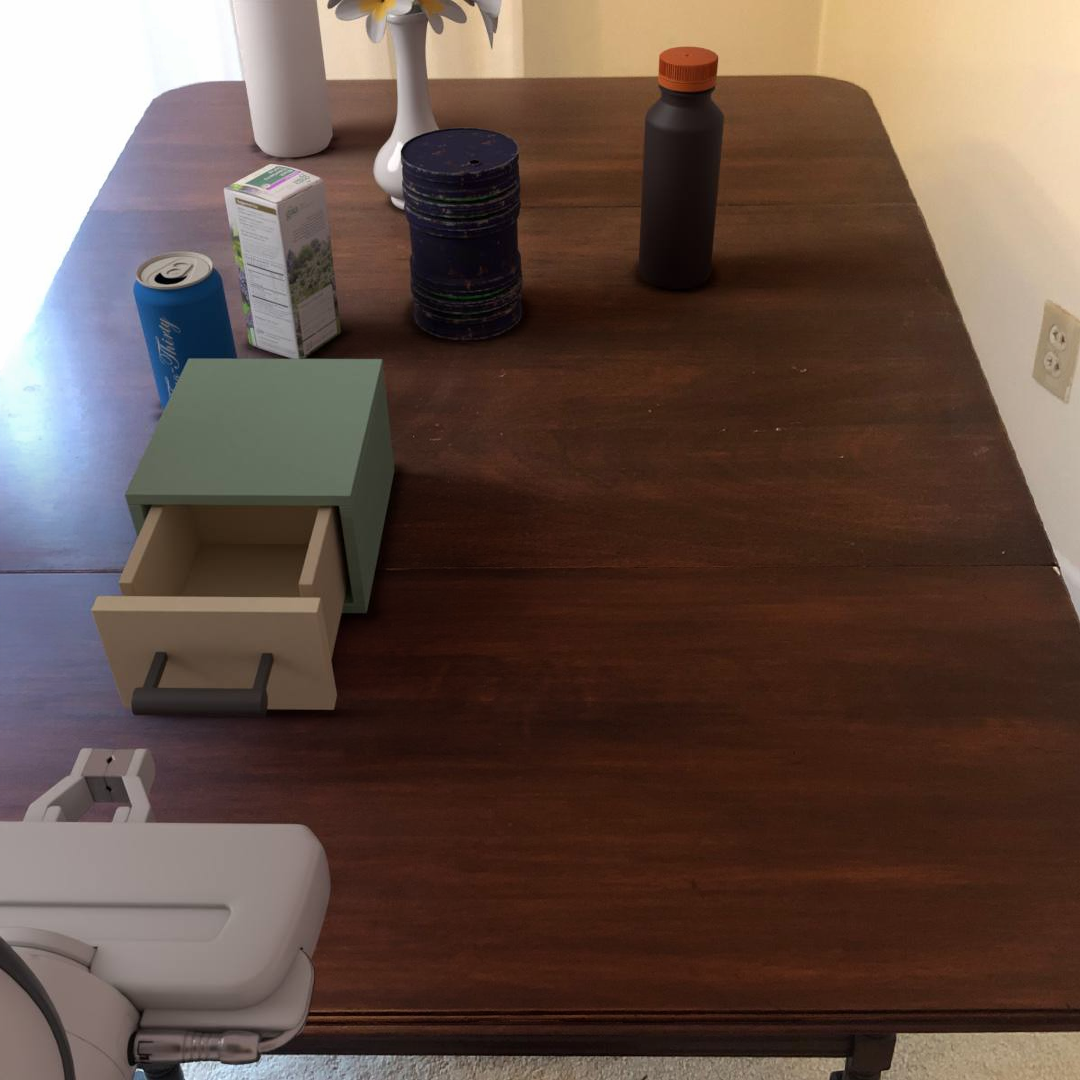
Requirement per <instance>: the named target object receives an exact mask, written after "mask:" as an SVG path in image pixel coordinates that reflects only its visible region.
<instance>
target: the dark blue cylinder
mask: <svg viewBox="0 0 1080 1080" xmlns="http://www.w3.org/2000/svg"><path fill="white" fill-rule="evenodd" d="M519 151H520V150H519V145H518V142H517V141H516V140H514V139H513V138H511V136H509V135H507V134H504V133H502V132H499V131H496V130H491V129H487V128H479V127H447V128H441V129H440V128H439V130H435V131H430V132H427V133H423V134H420V135H418V136H416V137H414V138H412V139H410V140H409V141H407V142H406V143H405V144H404V145H403V146H402V148H401V163H402V166H403V167H402V176H403V180H402V190H403V198H404V200H405V204H404V210H403V211H404V214H405V219H406V221H407V222H408V225H409V238H410V247H411V249H410V250H411V254H410V256H409V273H410V275H409V285H410V293H411V296H412V302H413V305H414V306H413V318H414V321H415V323H416V324H417V325H418V327H419V328H420V329H421V330H423V331H424V332H425V333H428V334H430V335H432V336H434V337H438V338H441V339H447V340H453V341H476V340H484V339H488V338H492V337H496V336H499V335H501V334H504V333H506V332H507V331H509V330H512V329H513V328H514V327H515V326H516V325H517V324H518V323H519V321H521V318H522V313H523V305H522V293H523V292H522V290H523V286H524V283H523V281H524V279H523V277H524V276H523V271H522V255H521V252H520V250H519V233H518V232H519V231H518V227H519V226H518V218H519V217H520V213H521V206H522V202H521V190H522V189H521V188H522V187H521V176H520V164H519V159H520V154H519V153H520V152H519Z"/></svg>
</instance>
